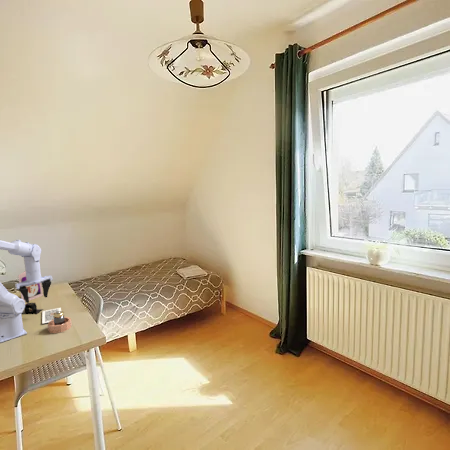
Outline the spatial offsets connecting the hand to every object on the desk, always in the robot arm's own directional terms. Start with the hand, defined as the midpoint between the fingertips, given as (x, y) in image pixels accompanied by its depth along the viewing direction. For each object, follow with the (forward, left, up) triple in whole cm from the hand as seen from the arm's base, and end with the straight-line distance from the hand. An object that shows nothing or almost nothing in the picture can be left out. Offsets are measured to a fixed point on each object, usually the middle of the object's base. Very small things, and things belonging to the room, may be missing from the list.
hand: (36, 299), depth 143 cm
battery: (+3, -17, -9) cm, 19 cm away
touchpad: (+5, -2, -10) cm, 11 cm away
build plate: (0, +12, -10) cm, 16 cm away
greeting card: (+5, +32, -10) cm, 34 cm away
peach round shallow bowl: (+3, -17, -9) cm, 20 cm away
